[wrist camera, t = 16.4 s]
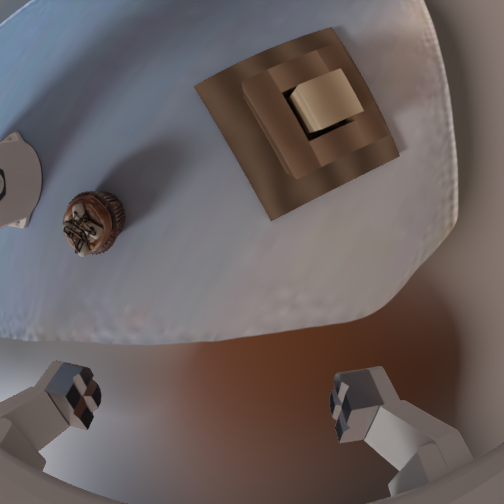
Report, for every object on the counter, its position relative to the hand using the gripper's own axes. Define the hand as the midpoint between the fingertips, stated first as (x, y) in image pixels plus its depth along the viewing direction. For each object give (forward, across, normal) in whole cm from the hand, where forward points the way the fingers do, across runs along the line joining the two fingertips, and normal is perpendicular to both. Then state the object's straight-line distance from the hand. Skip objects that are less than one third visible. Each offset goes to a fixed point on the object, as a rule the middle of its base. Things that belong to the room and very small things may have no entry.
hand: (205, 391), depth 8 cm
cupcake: (+34, +22, +1) cm, 41 cm away
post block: (+34, -9, -12) cm, 37 cm away
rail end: (+30, -9, -12) cm, 33 cm away
